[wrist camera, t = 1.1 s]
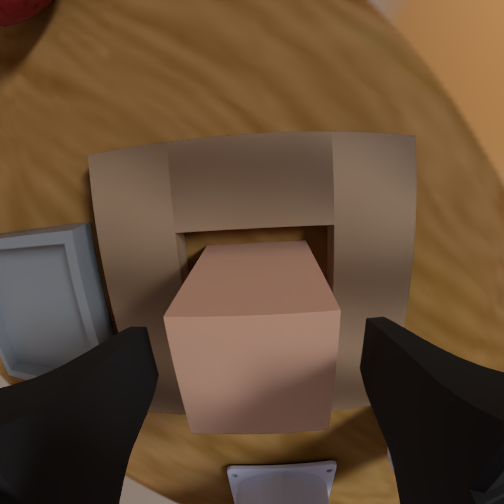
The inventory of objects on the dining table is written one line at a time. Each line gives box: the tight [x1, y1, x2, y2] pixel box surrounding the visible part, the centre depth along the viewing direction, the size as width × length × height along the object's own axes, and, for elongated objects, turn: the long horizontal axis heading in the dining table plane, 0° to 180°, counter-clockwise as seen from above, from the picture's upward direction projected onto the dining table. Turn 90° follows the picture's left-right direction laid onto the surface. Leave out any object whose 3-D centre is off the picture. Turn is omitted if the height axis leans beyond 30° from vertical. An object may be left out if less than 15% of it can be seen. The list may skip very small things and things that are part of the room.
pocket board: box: [88, 132, 416, 415], centre depth 14 cm, size 14×14×2 cm
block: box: [163, 240, 341, 434], centre depth 12 cm, size 4×4×7 cm
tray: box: [0, 222, 114, 380], centre depth 15 cm, size 10×10×2 cm
